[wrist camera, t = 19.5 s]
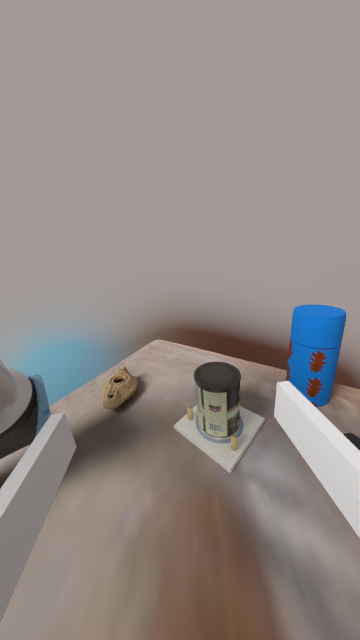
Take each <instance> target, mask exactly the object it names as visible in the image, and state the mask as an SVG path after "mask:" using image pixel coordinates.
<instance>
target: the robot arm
mask: <svg viewBox="0 0 360 640" xmlns="http://www.w3.org/2000/svg"><path fill="white" fill-rule="evenodd" d="M274 417H275V418H276V420H277V421H278V423H279V424H280V425H281V427H282V428H283V430H284V431H285V433H286V434H287V435H288V437H289V438H290V440H291V441H292V442H293V444H294V445H295V447H296V448H297V450H298V451H299V452H300V454H301V455H302V457H303V458H304V460H305V461H306V462H307V464H308V465H309V467H310V468H311V469H312V471H313V472H314V474H315V475H316V477H317V478H318V479H319V481H320V482H321V484H322V485H323V486H324V488H325V489H326V491H327V492H328V494H329V495H330V496H331V498H332V499H333V501H334V502H335V504H336V505H337V506H338V508H339V509H340V511H341V512H342V513H343V515H344V516H345V518H346V519H347V521H348V522H349V523H350V525H351V526H352V528H353V529H354V531H355V532H356V533H357V535H358V536H359V538H360V438H359V437H357V436H355V435H354V434H352V433H347V434H342V433H341V432H340V431H339V430H338V429H337V428H336V427H335V426H334V425H333V424H332V423H331V422H330V421H329V420H328V419H327V418H326V417H325V416H324V415H323V414H322V413H321V412H320V411H319V410H318V409H317V408H316V407H315V406H314V405H313V404H312V403H311V402H310V401H309V400H308V399H307V398H306V397H305V396H303V395H302V394H301V393H300V392H299V391H298V390H297V389H296V388H295V387H294V386H293V385H292V384H291V383H290V382H289V381H284V382H277V388H276V400H275V412H274ZM27 445H30V446H29V448H28V449H27V451H26V452H25V454H24V455H23V456H22V458H21V459H20V461H19V462H18V464H17V465H16V467H15V468H14V470H13V471H12V473H11V474H10V475H9V477H8V478H7V480H6V481H5V483H4V484H3V486H2V487H1V489H0V621H1V619H2V617H3V614H4V612H5V610H6V608H7V605H8V603H9V601H10V598H11V596H12V594H13V592H14V589H15V587H16V585H17V582H18V580H19V578H20V575H21V573H22V571H23V569H24V566H25V564H26V562H27V559H28V557H29V555H30V553H31V550H32V548H33V546H34V543H35V541H36V539H37V536H38V534H39V532H40V530H41V527H42V525H43V523H44V520H45V518H46V516H47V514H48V511H49V509H50V507H51V504H52V502H53V500H54V497H55V495H56V493H57V491H58V488H59V486H60V484H61V481H62V479H63V477H64V475H65V472H66V470H67V468H68V465H69V463H70V461H71V459H72V456H73V454H74V452H75V449H76V447H77V446H76V444H75V441H74V438H73V435H72V432H71V430H70V427H69V424H68V421H67V419H66V416H65V413H59V414H52V415H51V413H50V410H49V404H48V399H47V395H46V391H45V387H44V383H43V380H42V378H41V376H40V375H38V374H36V375H29V376H26V375H24V374H23V373H21V372H19V371H17V370H13V369H7V368H6V367H5V365H4V364H3V363H2V361H1V360H0V459H1V458H3V457H5V456H7V455H9V454H11V453H13V452H15V451H17V450H19V449H21V448H23V447H25V446H27Z"/></svg>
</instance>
